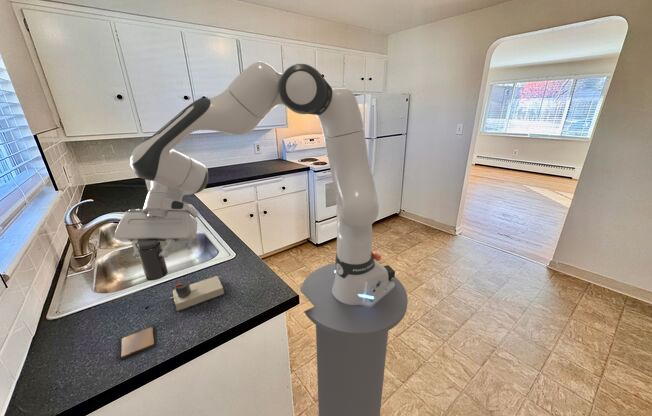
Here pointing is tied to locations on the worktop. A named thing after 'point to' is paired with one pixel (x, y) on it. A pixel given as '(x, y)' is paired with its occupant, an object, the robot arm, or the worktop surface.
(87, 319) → the worktop surface
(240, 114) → the robot arm
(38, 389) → the worktop surface
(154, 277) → the jar
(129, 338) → the trivet
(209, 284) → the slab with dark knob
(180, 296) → the knob
